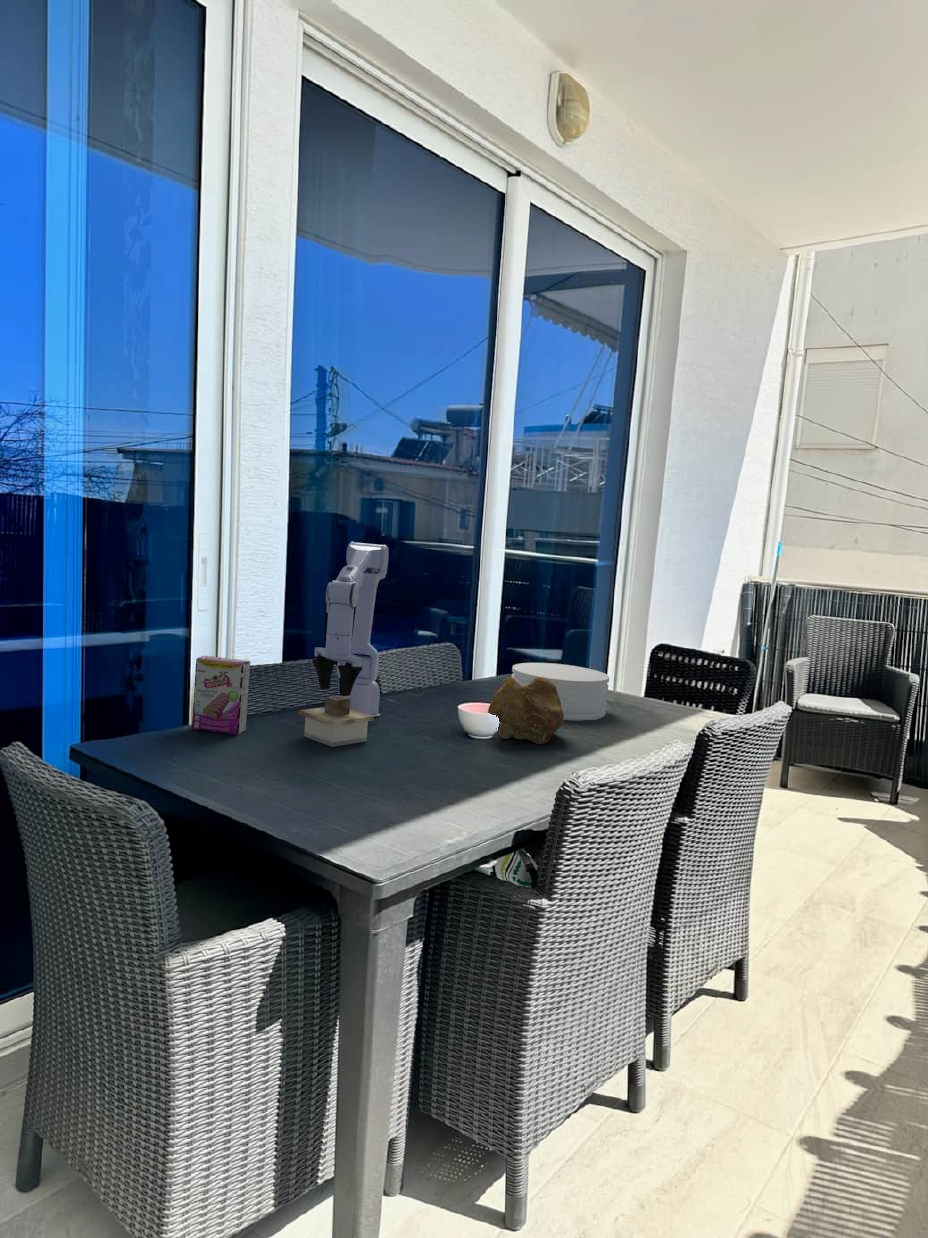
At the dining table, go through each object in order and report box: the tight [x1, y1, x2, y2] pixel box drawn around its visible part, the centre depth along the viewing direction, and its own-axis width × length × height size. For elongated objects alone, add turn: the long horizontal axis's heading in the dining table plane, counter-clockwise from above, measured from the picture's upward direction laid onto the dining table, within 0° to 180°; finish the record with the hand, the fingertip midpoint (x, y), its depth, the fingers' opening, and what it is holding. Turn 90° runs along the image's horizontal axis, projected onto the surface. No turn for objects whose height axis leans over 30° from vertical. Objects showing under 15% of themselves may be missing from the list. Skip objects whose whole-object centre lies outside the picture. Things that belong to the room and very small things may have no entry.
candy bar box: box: [191, 655, 251, 736], centre depth 198 cm, size 11×5×16 cm, turn 84°
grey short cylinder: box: [511, 662, 610, 719], centre depth 255 cm, size 28×28×12 cm
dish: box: [303, 717, 369, 748], centre depth 200 cm, size 10×10×5 cm
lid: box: [298, 695, 375, 726], centre depth 200 cm, size 12×12×4 cm
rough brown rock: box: [487, 676, 564, 745], centre depth 217 cm, size 23×17×15 cm
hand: (334, 692), depth 202 cm, fingers open, 7 cm apart
